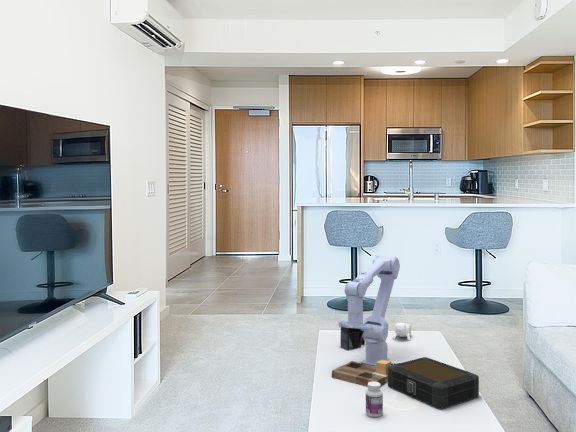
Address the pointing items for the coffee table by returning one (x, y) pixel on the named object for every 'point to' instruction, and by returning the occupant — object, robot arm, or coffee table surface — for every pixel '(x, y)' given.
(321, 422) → the coffee table surface
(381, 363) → the block
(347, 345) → the box
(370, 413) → the pill bottle
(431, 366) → the cash box
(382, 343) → the robot arm
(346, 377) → the trap board
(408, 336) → the white rounded figure
